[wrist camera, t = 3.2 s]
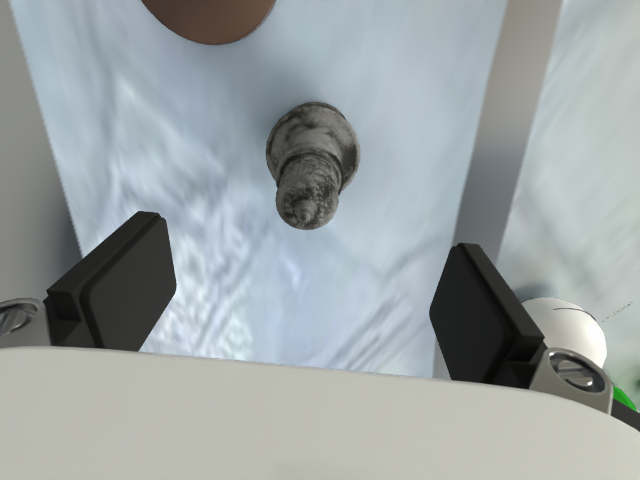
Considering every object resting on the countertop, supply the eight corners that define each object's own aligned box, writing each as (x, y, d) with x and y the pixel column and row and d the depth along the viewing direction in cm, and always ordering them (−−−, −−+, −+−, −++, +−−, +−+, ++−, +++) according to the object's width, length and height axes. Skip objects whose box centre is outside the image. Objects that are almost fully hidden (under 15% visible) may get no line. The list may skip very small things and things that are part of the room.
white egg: (503, 347, 34) (542, 417, 28) (476, 302, 31) (513, 369, 25) (609, 308, 31) (680, 376, 25) (591, 252, 28) (667, 314, 22)
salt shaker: (257, 122, 23) (201, 190, 13) (334, 80, 22) (338, 118, 11) (298, 193, 26) (279, 295, 15) (369, 159, 24) (399, 248, 14)
